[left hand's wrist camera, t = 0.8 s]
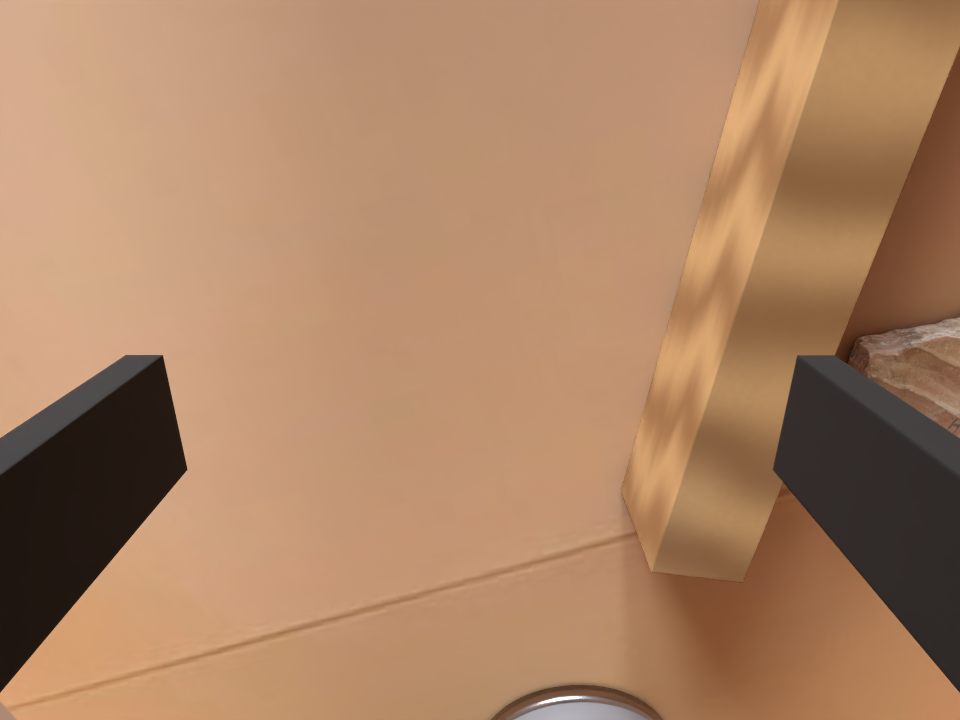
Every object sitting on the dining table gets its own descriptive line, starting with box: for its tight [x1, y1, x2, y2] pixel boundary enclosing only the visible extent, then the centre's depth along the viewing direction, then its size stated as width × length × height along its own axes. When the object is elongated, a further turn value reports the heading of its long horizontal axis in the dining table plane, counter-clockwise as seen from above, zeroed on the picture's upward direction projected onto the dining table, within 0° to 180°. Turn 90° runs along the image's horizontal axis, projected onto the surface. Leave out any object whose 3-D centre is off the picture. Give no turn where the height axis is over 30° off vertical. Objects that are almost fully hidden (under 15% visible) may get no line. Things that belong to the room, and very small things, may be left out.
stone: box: [847, 317, 960, 438], centre depth 34 cm, size 13×12×3 cm
